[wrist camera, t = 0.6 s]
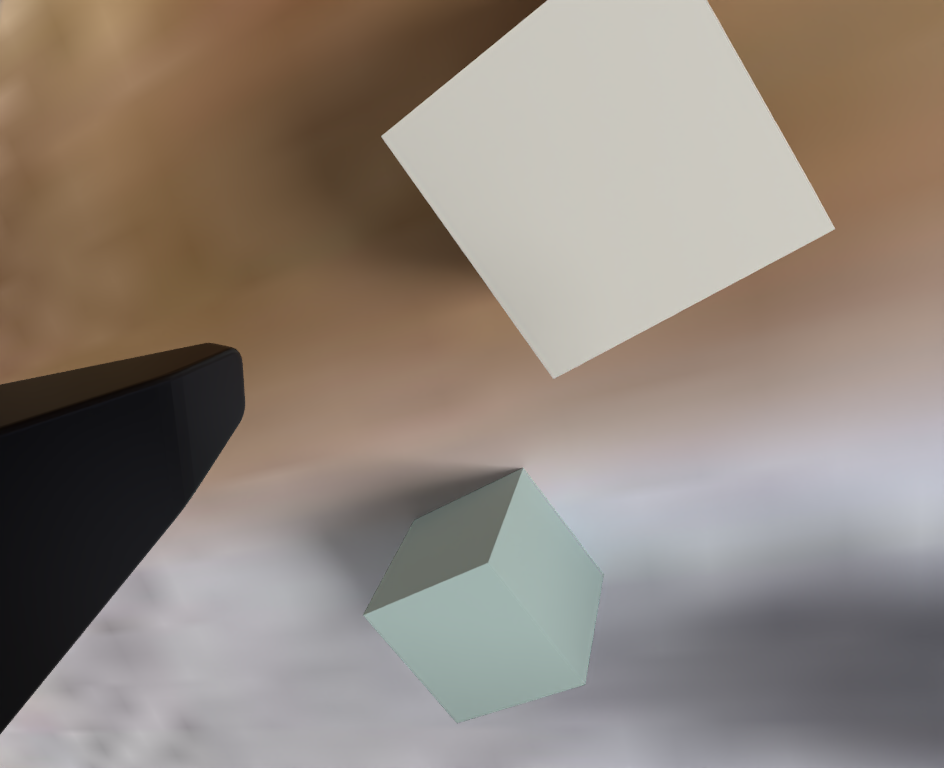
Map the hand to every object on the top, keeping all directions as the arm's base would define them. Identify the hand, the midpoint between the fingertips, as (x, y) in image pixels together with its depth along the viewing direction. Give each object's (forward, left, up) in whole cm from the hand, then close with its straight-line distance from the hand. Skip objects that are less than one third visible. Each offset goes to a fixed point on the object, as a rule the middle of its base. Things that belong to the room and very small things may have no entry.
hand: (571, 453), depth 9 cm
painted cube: (-8, +11, -13) cm, 19 cm away
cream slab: (+2, -1, -10) cm, 10 cm away
